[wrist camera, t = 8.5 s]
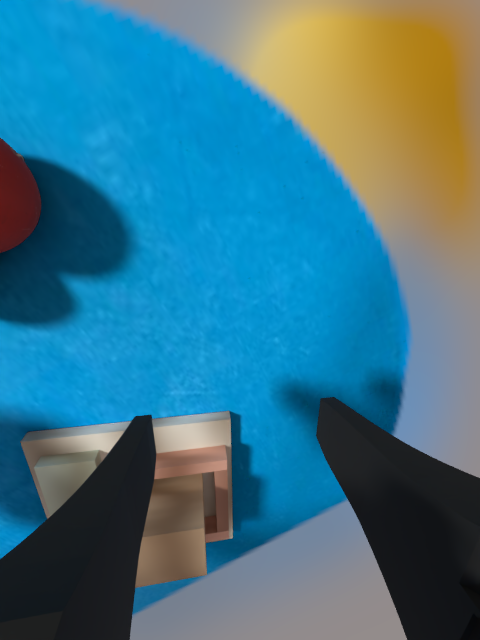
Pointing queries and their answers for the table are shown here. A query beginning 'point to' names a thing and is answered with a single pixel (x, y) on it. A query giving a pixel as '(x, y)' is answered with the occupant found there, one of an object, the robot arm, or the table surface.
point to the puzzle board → (171, 460)
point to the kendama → (16, 199)
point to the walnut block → (173, 532)
